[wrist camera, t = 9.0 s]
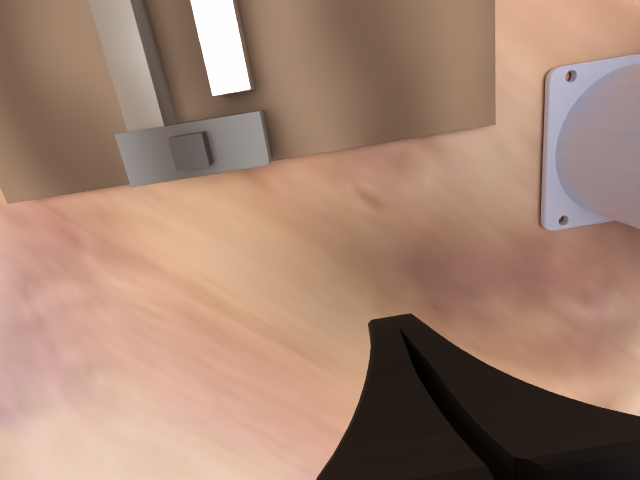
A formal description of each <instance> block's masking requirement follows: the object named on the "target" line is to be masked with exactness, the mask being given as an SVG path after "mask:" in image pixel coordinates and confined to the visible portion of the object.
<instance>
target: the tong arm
mask: <svg viewBox="0 0 640 480" xmlns="http://www.w3.org/2000/svg"><path fill="white" fill-rule="evenodd" d="M191 4H192V8H193V12H194V17H195V21H196V25H197V29H198V34H199V38H200V42H201V46H202V51H203V55H204V59H205V63H206V68H207V72H208V76H209V81H210V85H211V89H212V93H213V95H214V96H224V95H230V94H236V93H242V92H248V91H254V90H255V88H254V83H253V78H252V73H251V68H250V63H249V58H248V53H247V48H246V43H245V38H244V33H243V28H242V23H241V18H240V13H239V8H238V3H237V0H191Z"/></svg>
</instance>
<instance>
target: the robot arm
mask: <svg viewBox="0 0 640 480" xmlns="http://www.w3.org/2000/svg"><path fill="white" fill-rule="evenodd" d="M568 72H570V73H571V79H570V80H569V81H567V80H566V74H567V73H568ZM562 216H563V217H564V218H563V221H562V222H560V223H559V222H558V221H559V219H560V217H562ZM610 221H619V222H622V223H624V224H627V225H630V226H632V227H635V228H638V229H640V54H634V55H627V56H621V57H615V58H609V59H603V60H596V61H590V62H584V63H578V64H571V65H565V66H559V67H555V68H552V69H551V70H550V71H549V72H548V74H547V76H546V82H545V111H544V140H543V169H542V198H541V225H542V227H543V228H545V229H547V230H549V231H556V230H562V229H568V228H574V227H580V226H586V225H592V224H598V223H604V222H610ZM368 327H369V334H370V342H371V350H370V360H369V365H368V370H367V375H366V380H365V383H364V387H363V391H362V394H361V397H360V400H359V403H358V405H357V408H356V410H355V413H354V415H353V418H352V420H351V422H350V424H349V426H348V428H347V430H346V432H345V434H344V436H343V438H342V440H341V441H340V443H339V445H338V447H337V449H336V450H335V452H334V454H333V455H332V457H331V458H330V460H329V461H328V462H327V464H326V465H325V467H324V468H323V470H322V471H321V473H320V474H319V475H318V477H317V479H316V480H640V416H635V415H631V414H627V413H623V412H618V411H614V410H610V409H606V408H602V407H598V406H594V405H591V404H587V403H584V402H581V401H577V400H574V399H571V398H567V397H564V396H561V395H558V394H556V393H553V392H550V391H547V390H544V389H542V388H539V387H537V386H534V385H532V384H529V383H526V382H524V381H522V380H519V379H517V378H515V377H512V376H510V375H508V374H506V373H504V372H502V371H500V370H498V369H496V368H494V367H492V366H490V365H488V364H486V363H484V362H482V361H480V360H479V359H477V358H475V357H474V356H472V355H470V354H469V353H467V352H465V351H463V350H462V349H460V348H459V347H457V346H456V345H454V344H453V343H451V342H450V341H448V340H447V339H445V338H444V337H442V336H441V335H439V334H438V333H437V332H435V331H434V330H433V329H431V328H430V327H429V326H427V325H426V324H425V323H423V322H422V321H421V320H419V319H418V318H417V317H415V316H414V315H412V314H411V313H410V314H404V315H398V316H392V317H386V318H380V319H374V320H371V321H370V322H369V323H368Z"/></svg>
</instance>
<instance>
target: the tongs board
mask: <svg viewBox="0 0 640 480" xmlns="http://www.w3.org/2000/svg"><path fill="white" fill-rule="evenodd" d="M237 3H238V8H239V13H240V18H241V23H242V28H243V33H244V38H245V43H246V48H247V53H248V58H249V63H250V68H251V73H252V78H253V83H254V88H255V90H254V91H248V92H242V93H236V94H230V95H224V96H214V95H213V93H212V89H211V85H210V81H209V76H208V72H207V68H206V63H205V59H204V55H203V51H202V46H201V42H200V38H199V34H198V29H197V25H196V21H195V17H194V12H193V8H192V4H191V0H0V187H1V189H2V192H3V194H4V196H5V199H6V201H7V203H8V204H10V203H16V202H22V201H28V200H34V199H40V198H47V197H53V196H59V195H65V194H71V193H77V192H84V191H90V190H96V189H102V188H108V187H114V186H121V185H127V184H130V186H131V187H136V186H142V185H148V184H154V183H160V182H167V181H173V180H179V179H185V178H191V177H197V176H204V175H210V174H216V173H222V172H228V171H234V170H241V169H247V168H253V167H259V166H265V165H270V162H271V161H275V160H281V159H287V158H293V157H300V156H306V155H312V154H318V153H324V152H330V151H337V150H343V149H349V148H355V147H361V146H367V145H374V144H380V143H386V142H392V141H398V140H404V139H411V138H417V137H423V136H429V135H435V134H441V133H448V132H454V131H460V130H466V129H472V128H478V127H485V126H491V125H495V0H237Z"/></svg>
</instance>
